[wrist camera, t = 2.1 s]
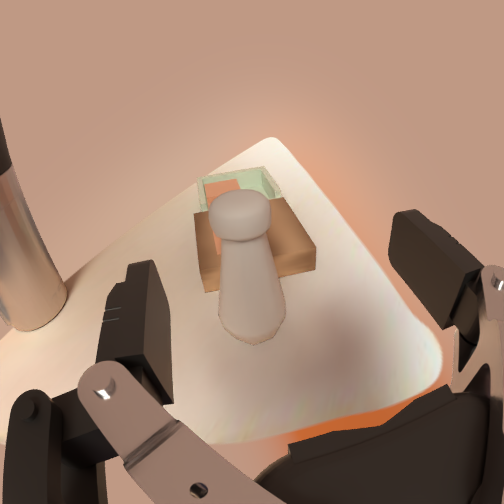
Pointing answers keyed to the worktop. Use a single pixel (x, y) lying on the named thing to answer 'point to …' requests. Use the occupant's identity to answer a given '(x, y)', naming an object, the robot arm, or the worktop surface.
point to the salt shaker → (247, 266)
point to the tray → (242, 183)
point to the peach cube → (220, 188)
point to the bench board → (279, 237)
